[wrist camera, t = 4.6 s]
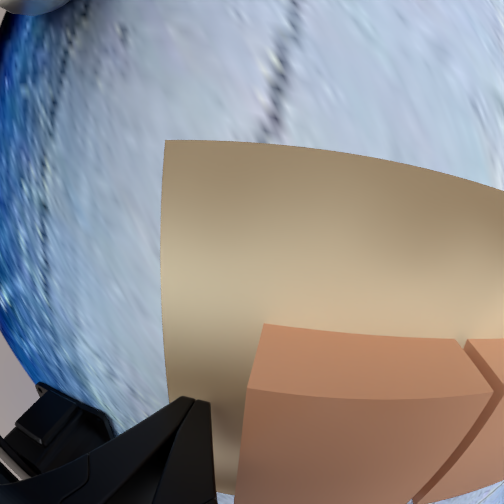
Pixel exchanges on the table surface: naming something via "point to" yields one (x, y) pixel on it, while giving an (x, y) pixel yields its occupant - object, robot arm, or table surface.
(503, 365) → the tile
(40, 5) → the plastic bottle
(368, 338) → the tile
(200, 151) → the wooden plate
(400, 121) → the table surface
